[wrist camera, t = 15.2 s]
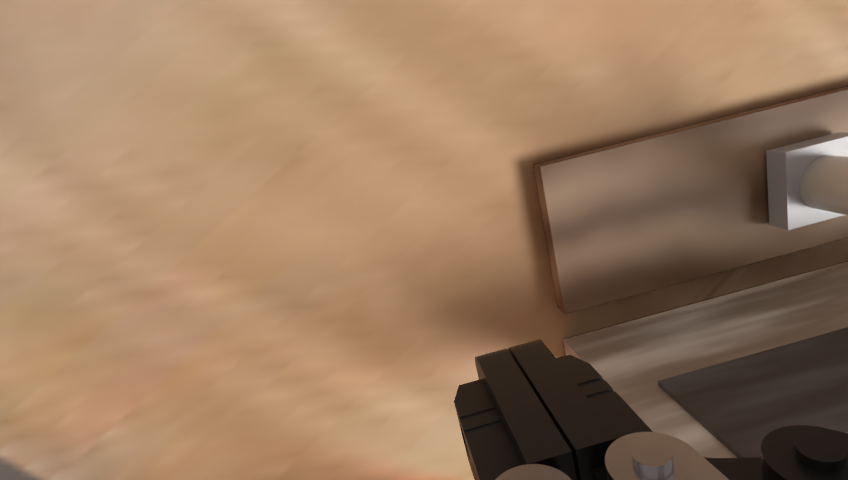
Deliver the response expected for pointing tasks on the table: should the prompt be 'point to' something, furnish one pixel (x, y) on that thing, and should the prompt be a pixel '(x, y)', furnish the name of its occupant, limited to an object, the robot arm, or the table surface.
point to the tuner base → (697, 257)
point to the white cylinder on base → (808, 181)
